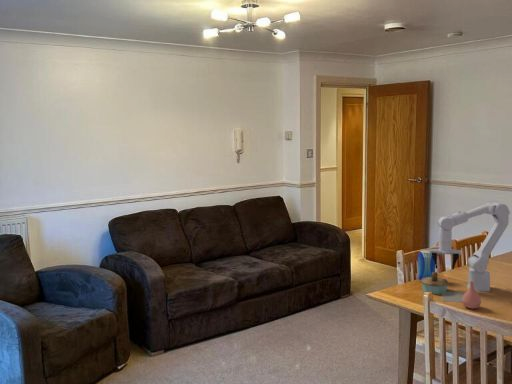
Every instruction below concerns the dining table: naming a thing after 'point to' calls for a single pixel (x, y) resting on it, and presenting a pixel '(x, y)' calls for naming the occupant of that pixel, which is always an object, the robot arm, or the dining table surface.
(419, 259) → the beer can
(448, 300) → the mat
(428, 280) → the lid
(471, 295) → the perfume bottle
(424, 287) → the bowl
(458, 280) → the dining table surface
